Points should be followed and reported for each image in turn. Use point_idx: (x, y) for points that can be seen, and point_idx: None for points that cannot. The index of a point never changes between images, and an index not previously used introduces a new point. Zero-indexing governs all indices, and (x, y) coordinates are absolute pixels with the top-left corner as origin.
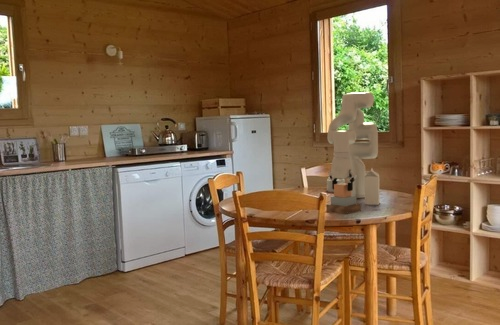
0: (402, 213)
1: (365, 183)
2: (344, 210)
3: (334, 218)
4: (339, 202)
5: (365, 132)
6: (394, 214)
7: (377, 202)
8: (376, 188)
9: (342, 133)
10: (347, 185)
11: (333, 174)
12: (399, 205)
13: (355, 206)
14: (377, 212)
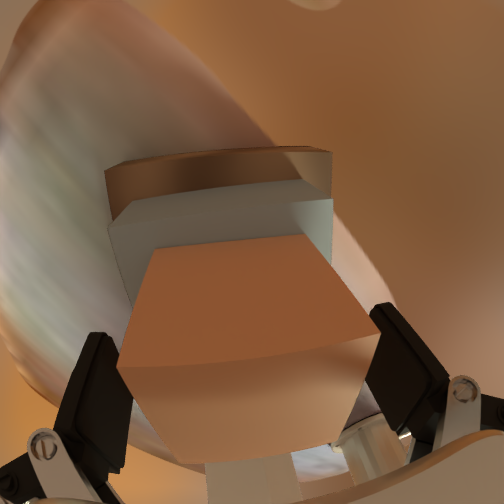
0: (21, 361)
1: (264, 494)
2: (121, 164)
3: (89, 23)
4: (197, 198)
5: None
6: (12, 334)
7: None
8: (213, 483)
9: None
10: (88, 395)
11: (491, 501)
12: (149, 440)
13: None
14: (66, 328)
